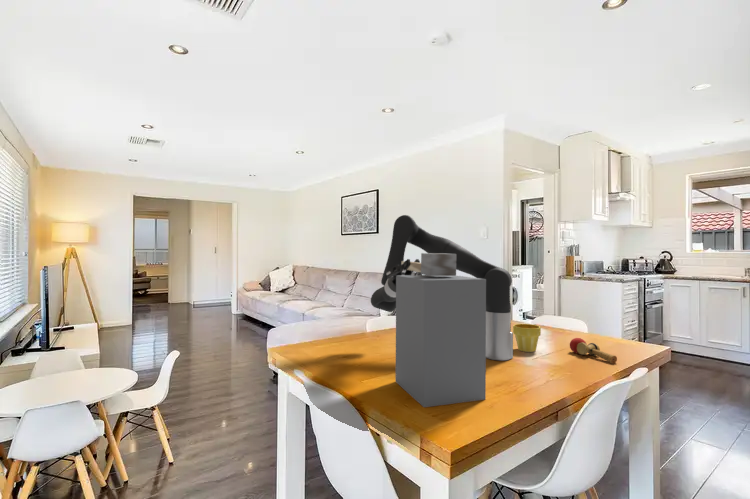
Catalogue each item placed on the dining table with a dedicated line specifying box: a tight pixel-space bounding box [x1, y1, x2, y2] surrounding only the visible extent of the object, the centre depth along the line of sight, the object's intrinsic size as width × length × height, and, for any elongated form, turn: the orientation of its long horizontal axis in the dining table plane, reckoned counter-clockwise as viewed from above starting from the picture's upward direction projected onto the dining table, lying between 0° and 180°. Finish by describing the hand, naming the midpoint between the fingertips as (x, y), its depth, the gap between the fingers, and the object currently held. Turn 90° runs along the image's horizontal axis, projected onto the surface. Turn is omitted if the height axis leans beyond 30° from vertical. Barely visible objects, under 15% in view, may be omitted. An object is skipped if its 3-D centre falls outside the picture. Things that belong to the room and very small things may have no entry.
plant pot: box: [512, 323, 542, 353], centre depth 154 cm, size 10×10×10 cm
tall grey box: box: [395, 274, 487, 408], centre depth 109 cm, size 18×20×32 cm
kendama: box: [569, 337, 618, 364], centre depth 145 cm, size 8×6×18 cm
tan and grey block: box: [402, 252, 457, 276], centre depth 119 cm, size 8×28×6 cm, turn 18°
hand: (413, 261), depth 126 cm, fingers closed on tan and grey block, 2 cm apart
